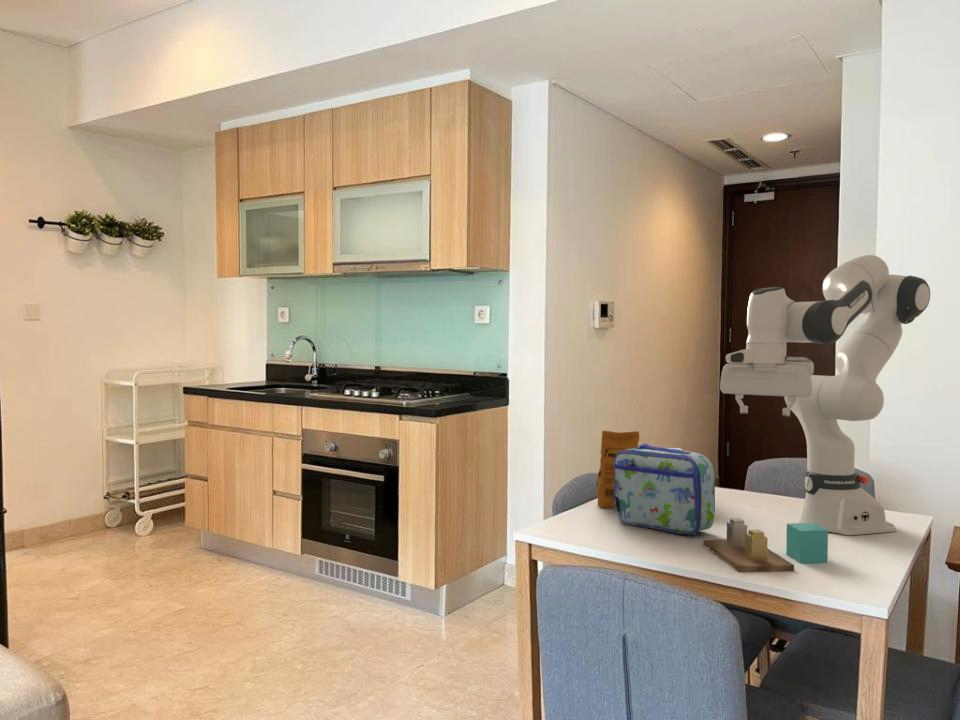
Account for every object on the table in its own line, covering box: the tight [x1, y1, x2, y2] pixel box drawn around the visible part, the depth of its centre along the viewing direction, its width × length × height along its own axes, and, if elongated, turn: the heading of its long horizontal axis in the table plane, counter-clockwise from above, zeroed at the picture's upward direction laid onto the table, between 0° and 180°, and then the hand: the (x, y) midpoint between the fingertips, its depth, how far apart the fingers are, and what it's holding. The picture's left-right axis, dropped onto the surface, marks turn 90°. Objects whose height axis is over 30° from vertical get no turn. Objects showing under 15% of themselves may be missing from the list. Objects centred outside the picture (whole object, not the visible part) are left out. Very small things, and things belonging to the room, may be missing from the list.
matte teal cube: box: [785, 522, 829, 564], centre depth 165 cm, size 6×6×7 cm
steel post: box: [726, 517, 748, 548], centre depth 171 cm, size 3×3×6 cm
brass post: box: [745, 529, 768, 561], centre depth 161 cm, size 3×3×6 cm
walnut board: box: [702, 538, 795, 573], centre depth 166 cm, size 12×20×1 cm, turn 4°
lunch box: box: [613, 443, 716, 536], centre depth 191 cm, size 26×11×21 cm, turn 43°
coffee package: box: [596, 429, 640, 509], centre depth 214 cm, size 10×12×22 cm
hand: (764, 414), depth 174 cm, fingers open, 8 cm apart
